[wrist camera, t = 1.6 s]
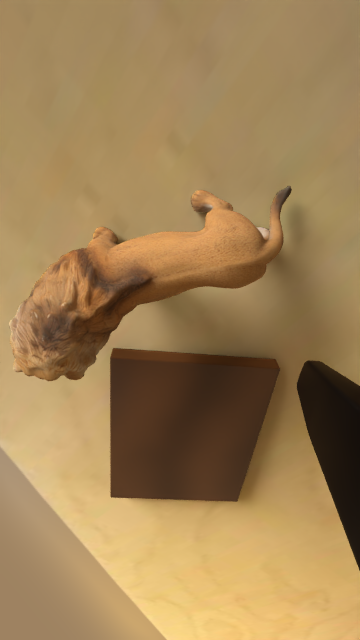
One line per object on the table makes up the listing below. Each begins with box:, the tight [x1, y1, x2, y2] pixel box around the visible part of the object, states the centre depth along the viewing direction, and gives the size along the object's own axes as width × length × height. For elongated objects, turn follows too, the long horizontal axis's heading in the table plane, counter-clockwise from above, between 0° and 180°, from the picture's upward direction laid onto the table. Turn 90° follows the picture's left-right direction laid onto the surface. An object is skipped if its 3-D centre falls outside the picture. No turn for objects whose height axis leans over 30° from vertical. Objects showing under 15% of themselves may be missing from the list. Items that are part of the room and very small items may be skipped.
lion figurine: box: [10, 186, 291, 381], centre depth 15 cm, size 15×5×9 cm, turn 115°
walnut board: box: [110, 348, 280, 502], centre depth 27 cm, size 12×16×1 cm
